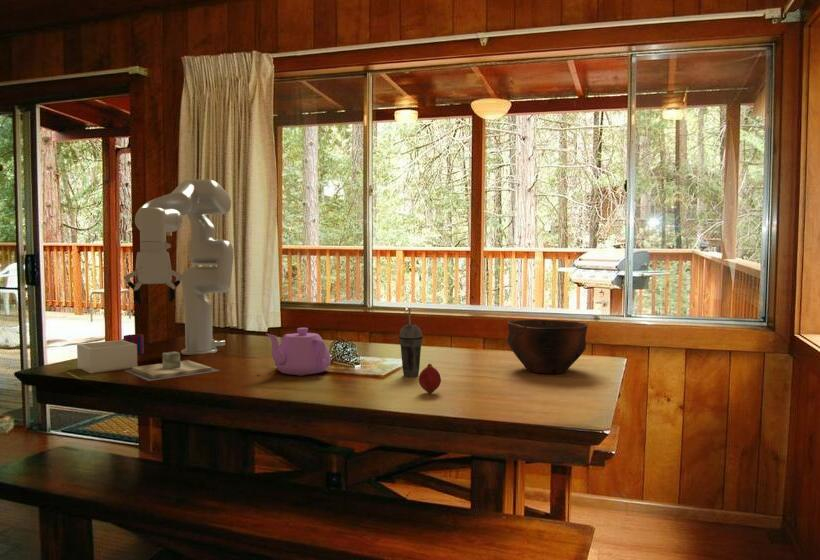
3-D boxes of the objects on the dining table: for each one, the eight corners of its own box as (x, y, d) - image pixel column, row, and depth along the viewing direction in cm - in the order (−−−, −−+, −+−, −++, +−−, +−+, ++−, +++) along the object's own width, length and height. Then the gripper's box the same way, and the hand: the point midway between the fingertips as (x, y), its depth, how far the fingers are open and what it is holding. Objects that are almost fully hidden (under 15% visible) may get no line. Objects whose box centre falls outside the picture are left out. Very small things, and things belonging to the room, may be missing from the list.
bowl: (594, 366, 207) (594, 319, 206) (580, 381, 184) (580, 328, 184) (518, 361, 217) (518, 316, 217) (496, 374, 195) (496, 324, 194)
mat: (191, 363, 217) (191, 361, 217) (220, 372, 201) (220, 370, 201) (123, 372, 203) (123, 370, 203) (148, 382, 186) (148, 380, 186)
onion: (418, 391, 173) (417, 361, 173) (439, 390, 174) (439, 361, 173) (420, 396, 168) (419, 365, 167) (442, 395, 168) (442, 365, 168)
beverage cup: (426, 374, 197) (425, 308, 195) (418, 378, 190) (418, 310, 189) (403, 372, 199) (403, 307, 198) (395, 377, 192) (394, 310, 191)
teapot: (246, 373, 199) (245, 329, 198) (303, 364, 215) (302, 322, 214) (290, 384, 184) (289, 335, 183) (347, 372, 200) (346, 328, 199)
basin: (123, 363, 218) (122, 339, 217) (137, 369, 207) (136, 344, 207) (77, 368, 209) (77, 344, 208) (90, 375, 198) (89, 349, 198)
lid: (188, 363, 214) (187, 346, 214) (211, 370, 201) (211, 353, 201) (132, 370, 202) (131, 352, 202) (153, 378, 189) (152, 360, 189)
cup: (147, 353, 239) (147, 334, 239) (126, 357, 230) (126, 338, 230) (134, 352, 242) (133, 333, 241) (112, 356, 233) (111, 337, 232)
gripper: (179, 247, 208) (180, 300, 209) (121, 247, 199) (122, 303, 200) (185, 247, 202) (186, 302, 203) (125, 247, 193) (126, 304, 193)
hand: (154, 302), depth 201 cm, fingers open, 9 cm apart
